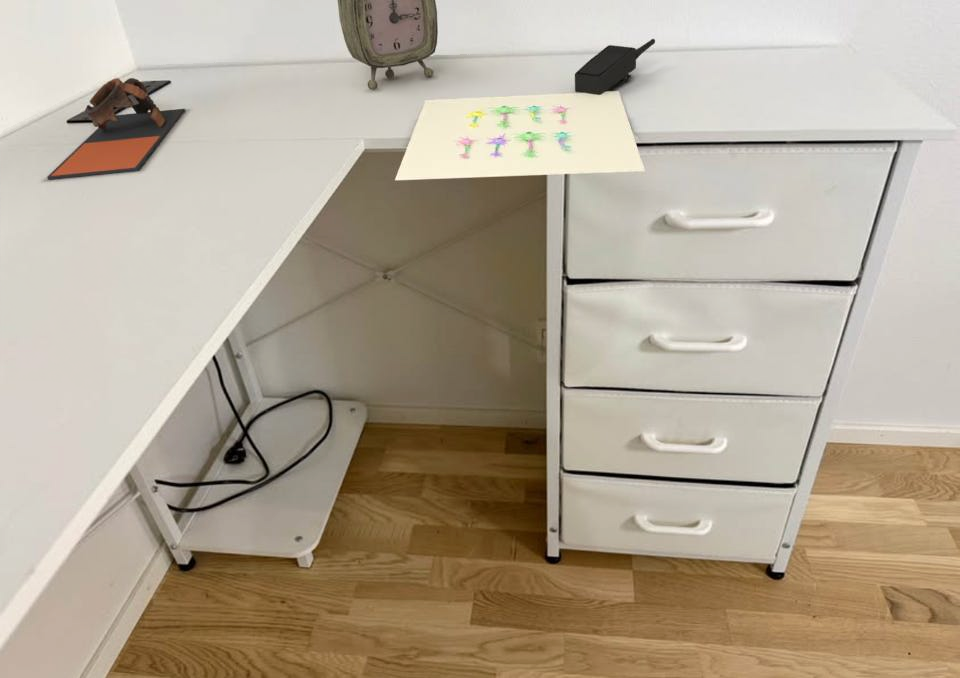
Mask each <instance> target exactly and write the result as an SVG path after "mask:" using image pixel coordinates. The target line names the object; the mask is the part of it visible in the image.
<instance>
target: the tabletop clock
mask: <svg viewBox="0 0 960 678" xmlns="http://www.w3.org/2000/svg"><path fill="white" fill-rule="evenodd" d="M436 2H437V1H436V0H337V7H338V16H339V17H338V18H339V23H340V27H341V32H342V35H343V40H344V43H345V45H346V48H347V50H348V52H349V54H350V55H351V58H352V59H355V60H356V61H358V62H360V63H362V64H364V65H366V66H368V67H370V73H371V74H370V76H371V77H370V78H371V79H370V80H368V82H367V84H366V85H367V87H368V89H369V90H370V91H374V90H376V89H377V87H378V83H377V81H376V74H377V69H387V70H385V72H384V75H385V77H386V78H387V79H389V80H391V79H393V78H394V76H395V71H394V70H393V69H392V68H395V67H402V66H403V67H404V66H406V65H410V64H413V63H418V64H419V65H420V67H422V69H423V75H424V76H425V77H426V78H431V77H433V75H434V71H433V69H432V68H431V67H427V65H426V64H425V62H424V60H426V59H428V58H430V57H431V56H432V55H433V54H434V53H436V50H437V45H438V34H439V32H438V31H439V30H438V9H437V8H438V7H437V3H436Z"/></svg>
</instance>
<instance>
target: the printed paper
mask: <svg viewBox="0 0 960 678" xmlns="http://www.w3.org/2000/svg"><path fill="white" fill-rule="evenodd" d="M399 165H400V166H399V168H398V170H397V174H396V176H395V179H394V181H414V180H415V181H416V180H441V179H443V180H445V179H468V178H469V179H470V178H490V177H491V178H495V177H521V176H522V177H523V176H547V175H549V176H551V175H576V174H579V175H580V174H597V173H598V174H600V173H602V174H605V173H629V172H646V170H645V167H644V163H643V161H642V157H641V154H640V151H639V148H638V146H637V143H636V139H635V137H634V133H633V130H632V127H631V124H630V121H629V118H628V115H627V112H626V109H625V105H624V102H623V99H622V96H621V93H620V91H619V90H611V91H608V92H604V93H603V94H601V95H595V94H589V93H581V92H569V93H549V94H527V95H525V94H524V95H507V96H506V95H505V96H485V97H463V98H446V99H445V98H443V99H425V100H424V103H423V105H422V108H421V110H420V113H419V115H418V118H417V121H416V124H415V126H414V129H413V131H412V134H411V137H410V139H409V142H408V145H407V147H406V150H405V152H404V154H403V158H402V160H401V163H400V164H399Z"/></svg>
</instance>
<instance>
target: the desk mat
mask: <svg viewBox="0 0 960 678" xmlns="http://www.w3.org/2000/svg"><path fill="white" fill-rule="evenodd" d="M160 112H161V113H162V115H163V116H164V117H165V121H164V124H163V125H162V127H158V125H157V124H156V121H154V120H153V119H152V118H151V114H152V113H151V112H150V111H148V112H147V113H141V114H137V113H136V112H134V113H125V114H124V113H123V114H115V115H116V118H117V120H118V121H112V120H111V121H108V122H107V123H106V129H105V130H102V129H100V128H98V127H97V129H95V130H94V132H92V133H91V134H90V135H89V136H88V137H87V138H86V139H85V140H84V141H83V142H81V144H80V145H79V146H78V147H76V149H74V150H73V151H72V152H71V154H69V155H68V156H67V157H66V158H65V159H64V160H63V161H62V162H61V163H60V164H59V165H58V166H57V167H55V169H54V170H53V171H52V172H50V173H49V175H47V176H46V178H47V180H48V181H49V180H50V181H51V180H60V179H69V178H70V179H71V178H79V177H88V176H99V175H108V174H119V173H127V172H128V173H129V172H138V171H140V170H141V168H142V167H143V166H144V164H145V163H146V162H147V160H148V159H149V158H150V157H151V156H152V154H153V153H154V151H156V149H157V148H158V147H159V145H160V144H161V143H162V141H164V139H165V138H166V136H167V135H168V134H169V133H170V131H171V130H172V129H173V127H174V126H175V125H176V123H178V121H179V120H180V118H181V117H182V116H183V114H184V113H185V112H186V109H185V108H175V109H166V110H160Z"/></svg>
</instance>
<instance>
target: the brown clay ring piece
mask: <svg viewBox="0 0 960 678" xmlns="http://www.w3.org/2000/svg"><path fill="white" fill-rule="evenodd" d="M89 103H90V104H91V105H90V104H87V105H86V107H85V108H84V112H85V114H86V115H87V116H89V117H90V118H91V122H92V124H93V126H94V127H95V128H97V129H98V128H100V129H102V130H105V129H106V123H107V122H108V121H111V120H112V121H118V120H117V118H116V115H117V114H116V111H115V108H117V109H126V108H127V109H130V108H132V109H133V111H134V113H137V114H141V113H147V112H151V113H152V114H151V118H152V119H153V120H154V121H156V124H157V125H158V127H162V125H163V124H164V121H165V117H164V116H163V115H162V113H161V112H160V111H161V110H160V108H159V107H158V106H157V105H156V103H155V102H154V100H153V99H152V97H151V96H150V95H149V93H148V90H147V88H146V86H145V84H144V83H143V82H141V81H140V80H139V79H137V78H135V77H130V78H127V79H126V80H124V81H122V80H121V79H120V78H118V77H116V78H113V79H111V80H109V81H107V82H106V83H104V84H103V85H102V86H101V87H100V88H99V89H98V90H97V91H96V92H95V93H94V94H93V96H92V97H91V98H90V100H89ZM92 106H93V107H92Z"/></svg>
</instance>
